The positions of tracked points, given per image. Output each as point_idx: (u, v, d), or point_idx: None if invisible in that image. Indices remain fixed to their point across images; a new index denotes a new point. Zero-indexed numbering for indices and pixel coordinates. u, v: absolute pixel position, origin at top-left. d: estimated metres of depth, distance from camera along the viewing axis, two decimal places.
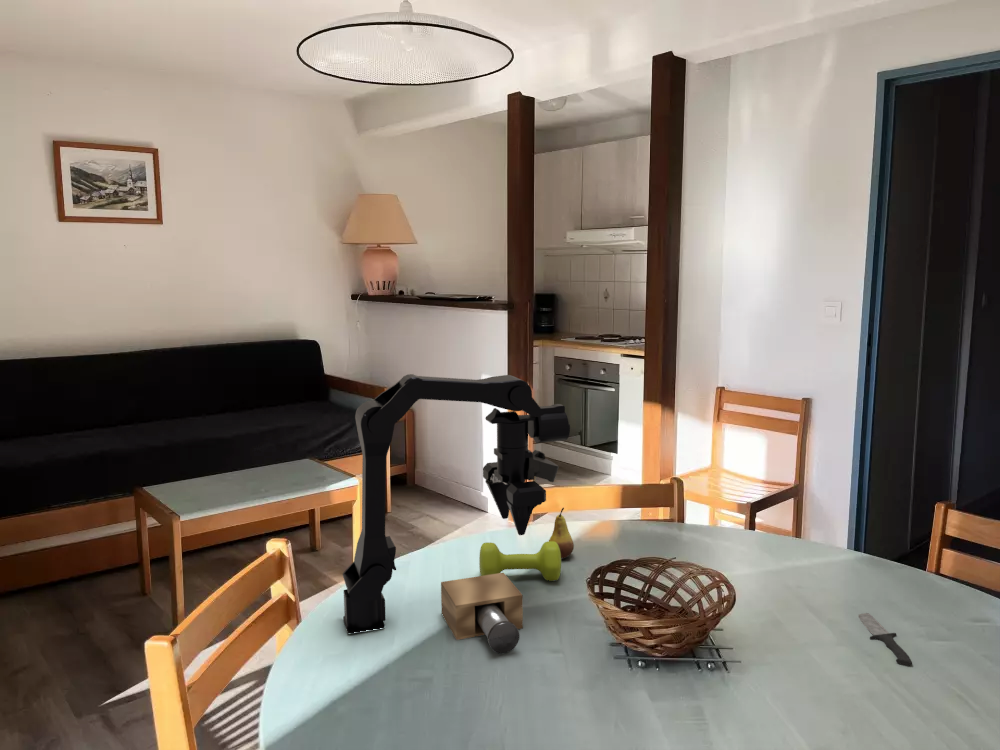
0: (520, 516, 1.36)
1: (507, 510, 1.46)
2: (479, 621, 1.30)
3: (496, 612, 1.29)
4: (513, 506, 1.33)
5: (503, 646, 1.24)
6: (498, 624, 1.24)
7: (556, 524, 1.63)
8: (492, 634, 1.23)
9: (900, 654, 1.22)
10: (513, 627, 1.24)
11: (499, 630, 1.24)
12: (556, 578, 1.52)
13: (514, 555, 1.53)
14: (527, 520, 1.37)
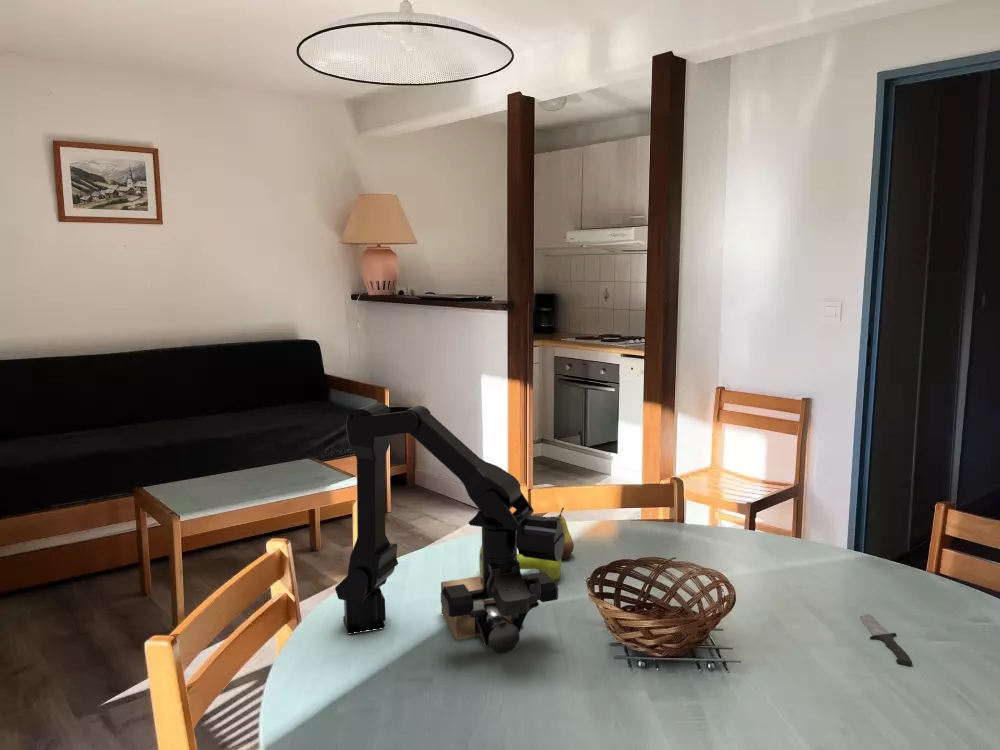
0: (478, 622, 1.25)
1: None
2: None
3: (496, 612, 1.29)
4: None
5: (503, 646, 1.24)
6: (498, 624, 1.24)
7: None
8: (492, 634, 1.23)
9: (900, 654, 1.22)
10: (513, 627, 1.24)
11: (499, 630, 1.24)
12: (556, 578, 1.52)
13: None
14: (482, 631, 1.24)
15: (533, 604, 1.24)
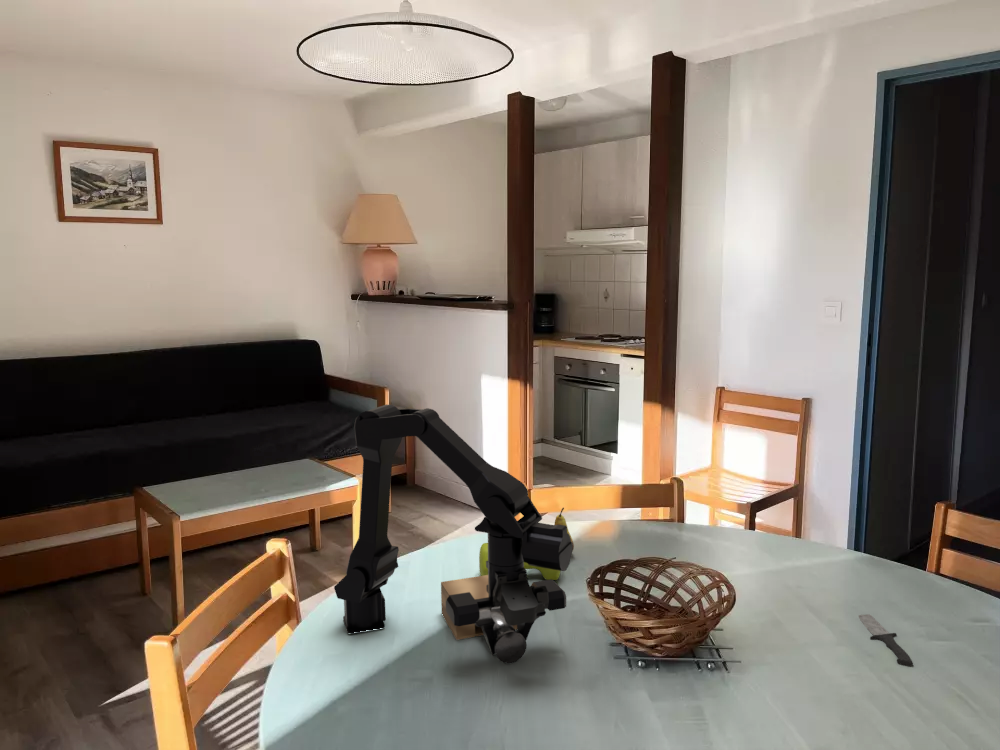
0: (484, 631, 1.22)
1: None
2: None
3: (502, 620, 1.26)
4: None
5: (510, 656, 1.21)
6: (505, 633, 1.21)
7: (556, 524, 1.63)
8: (498, 644, 1.20)
9: (901, 654, 1.22)
10: (520, 636, 1.21)
11: (505, 639, 1.21)
12: (556, 578, 1.52)
13: None
14: (488, 640, 1.21)
15: (540, 613, 1.21)
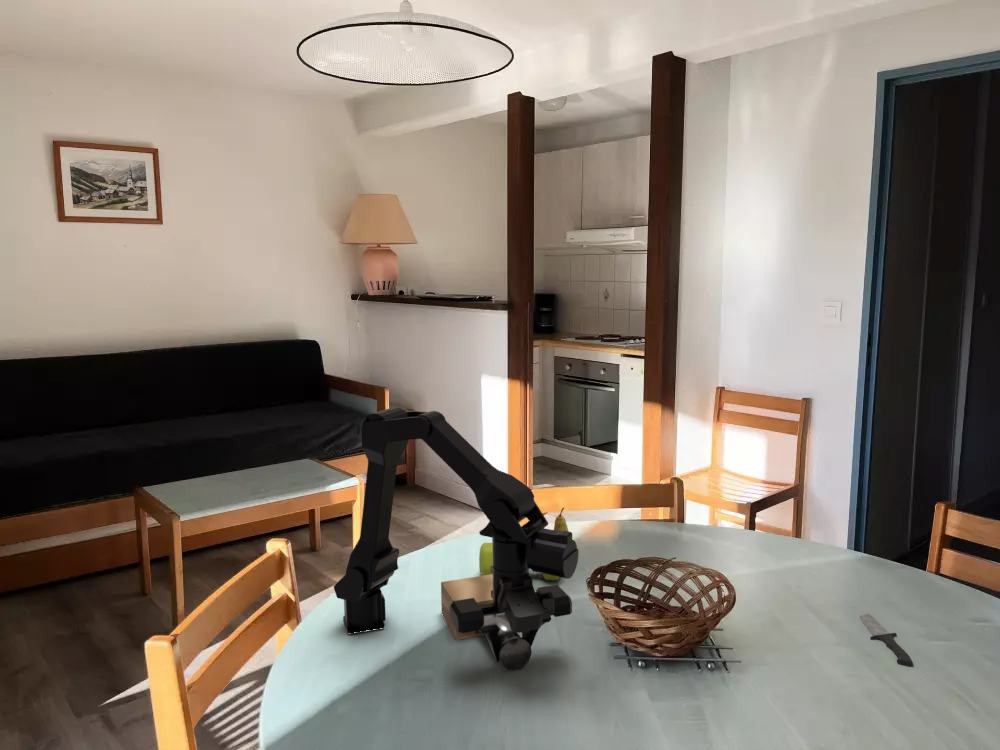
0: (488, 637, 1.20)
1: None
2: None
3: (507, 626, 1.24)
4: None
5: (514, 663, 1.19)
6: (509, 640, 1.19)
7: (556, 524, 1.63)
8: (503, 651, 1.18)
9: (901, 654, 1.22)
10: (525, 643, 1.19)
11: (510, 646, 1.19)
12: (556, 578, 1.52)
13: None
14: (493, 647, 1.19)
15: (545, 619, 1.19)
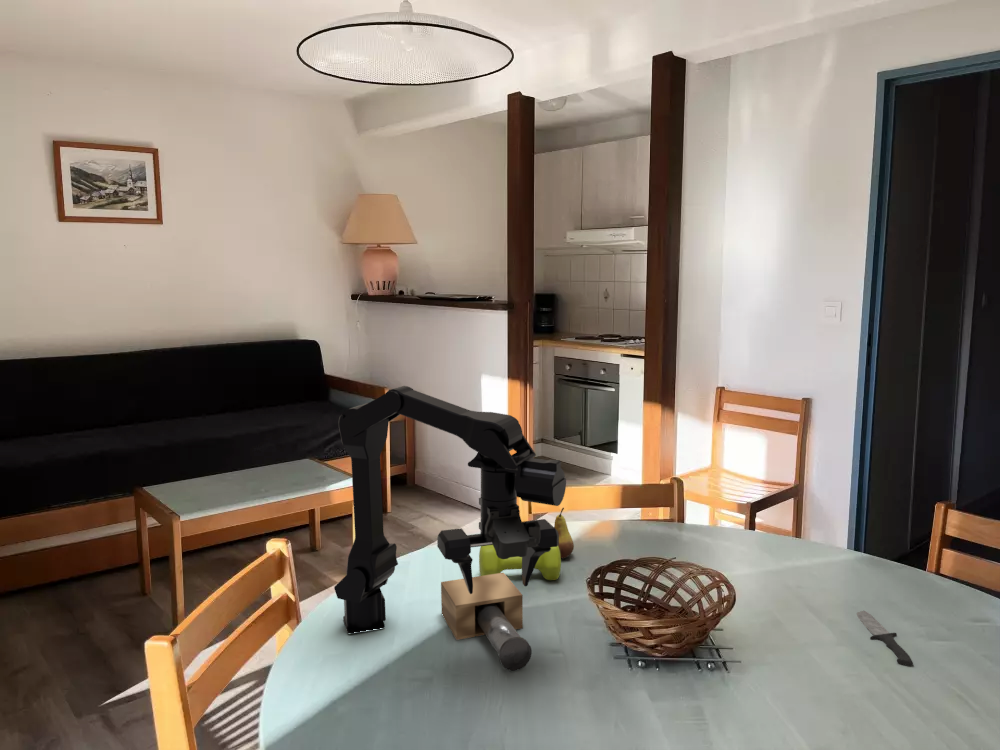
0: (462, 569, 1.21)
1: (524, 577, 1.23)
2: (489, 636, 1.24)
3: (507, 627, 1.23)
4: None
5: (514, 663, 1.19)
6: (510, 640, 1.19)
7: (556, 524, 1.63)
8: (503, 651, 1.18)
9: (901, 654, 1.22)
10: (525, 643, 1.19)
11: (510, 646, 1.18)
12: (556, 577, 1.52)
13: None
14: (466, 578, 1.20)
15: (545, 548, 1.21)
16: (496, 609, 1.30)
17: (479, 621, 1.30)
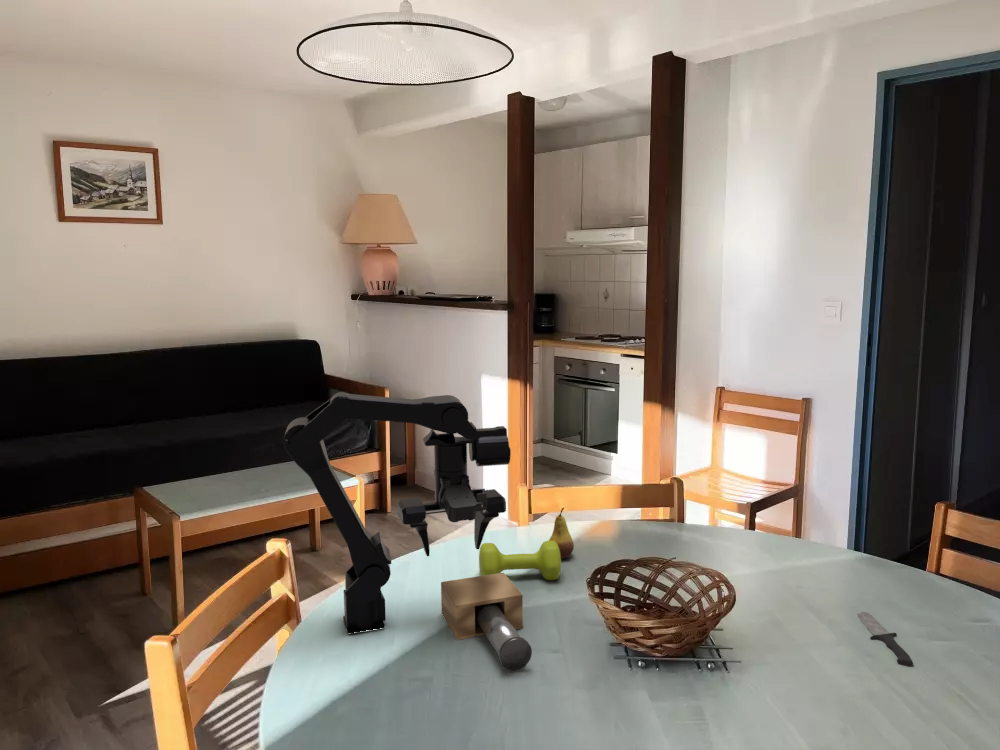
0: (419, 534, 1.35)
1: (476, 541, 1.38)
2: (489, 636, 1.24)
3: (507, 627, 1.23)
4: None
5: (514, 663, 1.19)
6: (510, 640, 1.19)
7: (556, 524, 1.63)
8: (503, 651, 1.18)
9: (901, 654, 1.22)
10: (525, 643, 1.19)
11: (510, 646, 1.18)
12: (556, 577, 1.53)
13: (514, 555, 1.53)
14: (423, 542, 1.34)
15: (494, 514, 1.36)
16: (496, 609, 1.30)
17: (479, 621, 1.30)
